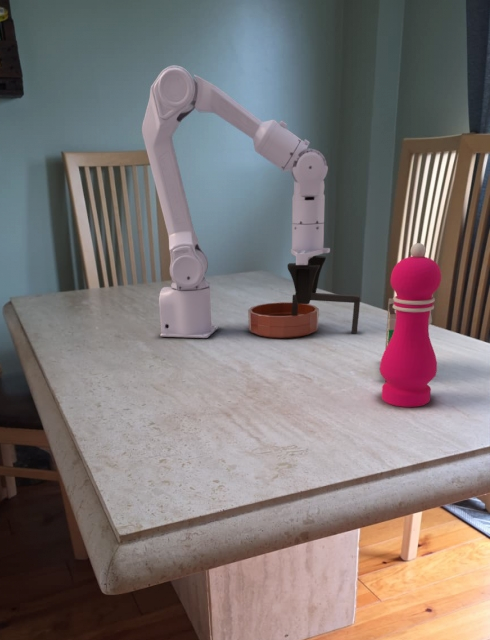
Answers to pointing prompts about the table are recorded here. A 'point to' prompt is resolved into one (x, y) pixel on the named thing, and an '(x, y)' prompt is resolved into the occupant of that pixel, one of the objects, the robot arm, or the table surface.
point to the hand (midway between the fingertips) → (306, 299)
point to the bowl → (283, 320)
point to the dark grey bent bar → (334, 298)
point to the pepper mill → (411, 332)
